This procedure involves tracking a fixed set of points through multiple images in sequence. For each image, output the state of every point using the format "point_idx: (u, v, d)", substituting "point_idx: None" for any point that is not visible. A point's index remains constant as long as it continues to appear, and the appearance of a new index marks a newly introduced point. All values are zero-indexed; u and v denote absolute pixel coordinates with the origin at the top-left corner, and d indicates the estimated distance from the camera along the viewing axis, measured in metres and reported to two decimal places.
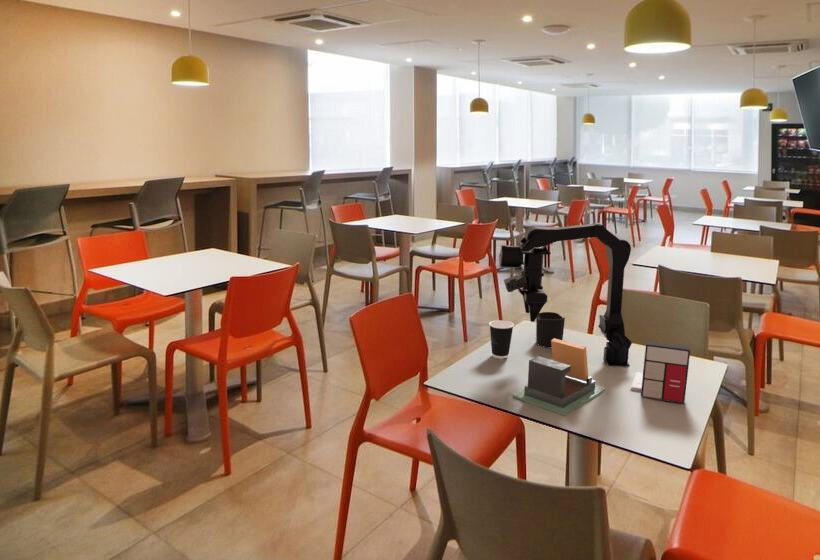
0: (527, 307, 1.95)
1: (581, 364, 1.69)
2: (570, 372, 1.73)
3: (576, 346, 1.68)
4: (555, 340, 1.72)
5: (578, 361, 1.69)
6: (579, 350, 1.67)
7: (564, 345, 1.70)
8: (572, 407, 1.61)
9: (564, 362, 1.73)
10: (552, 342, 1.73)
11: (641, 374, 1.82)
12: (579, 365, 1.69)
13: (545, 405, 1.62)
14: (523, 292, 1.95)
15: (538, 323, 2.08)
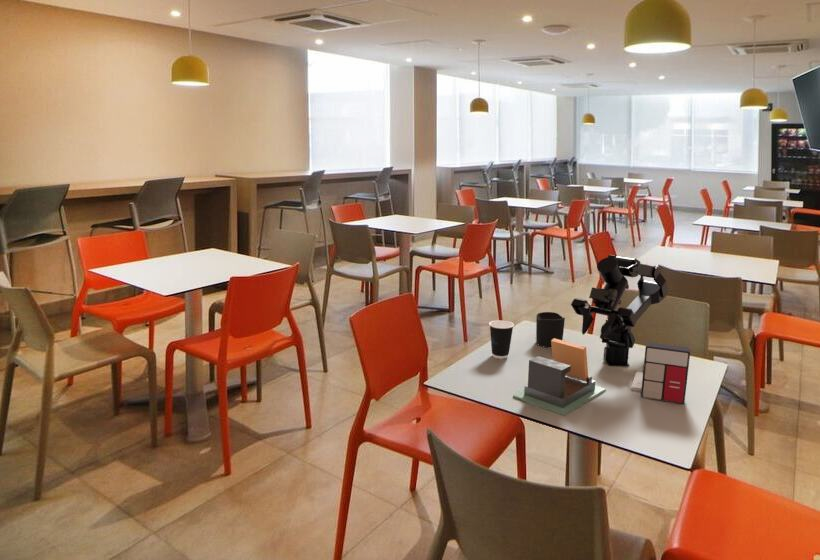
0: (585, 328, 1.82)
1: (581, 364, 1.69)
2: (570, 372, 1.73)
3: (576, 346, 1.68)
4: (555, 340, 1.72)
5: (578, 361, 1.69)
6: (579, 350, 1.67)
7: (564, 345, 1.70)
8: (572, 407, 1.61)
9: (564, 362, 1.73)
10: (552, 342, 1.73)
11: (641, 374, 1.82)
12: (579, 365, 1.69)
13: (545, 405, 1.62)
14: (588, 312, 1.83)
15: (538, 323, 2.08)
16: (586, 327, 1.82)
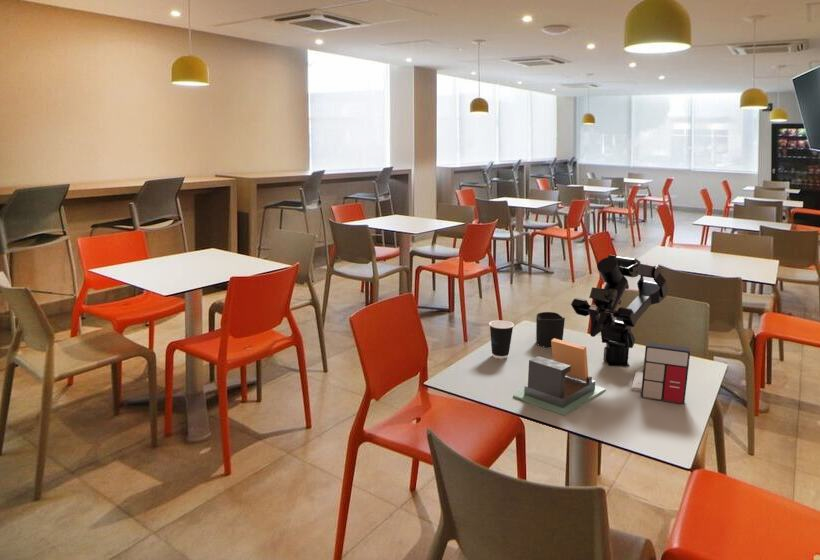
0: None
1: (581, 364, 1.69)
2: (570, 372, 1.73)
3: (576, 346, 1.68)
4: (555, 340, 1.72)
5: (578, 361, 1.69)
6: (579, 350, 1.67)
7: (564, 345, 1.70)
8: (572, 407, 1.61)
9: (564, 362, 1.73)
10: (552, 342, 1.73)
11: (641, 374, 1.82)
12: (579, 365, 1.69)
13: (545, 405, 1.62)
14: (596, 314, 1.81)
15: (538, 323, 2.08)
16: None
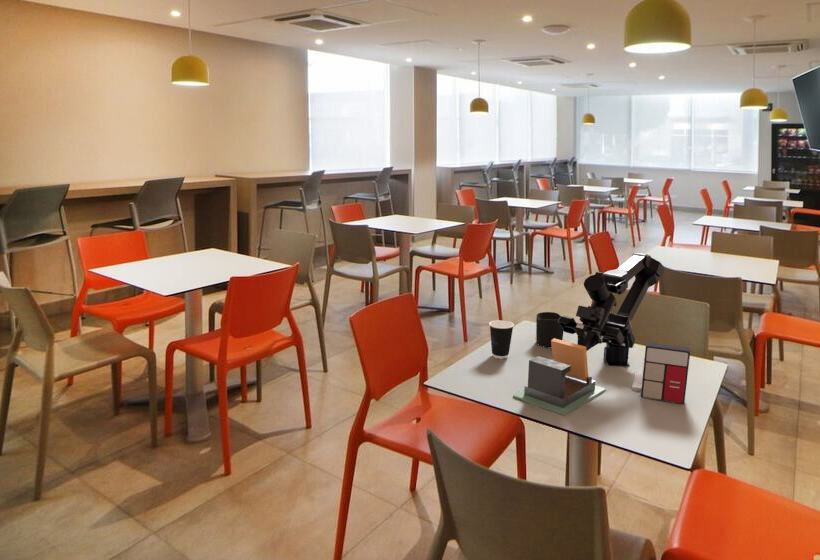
0: None
1: (581, 364, 1.69)
2: (570, 372, 1.73)
3: (576, 346, 1.68)
4: (555, 340, 1.72)
5: (578, 361, 1.69)
6: (579, 350, 1.67)
7: (564, 345, 1.70)
8: (572, 407, 1.61)
9: (564, 362, 1.73)
10: (552, 342, 1.73)
11: (641, 374, 1.83)
12: (579, 365, 1.69)
13: (545, 405, 1.62)
14: (583, 332, 1.77)
15: (538, 323, 2.08)
16: None
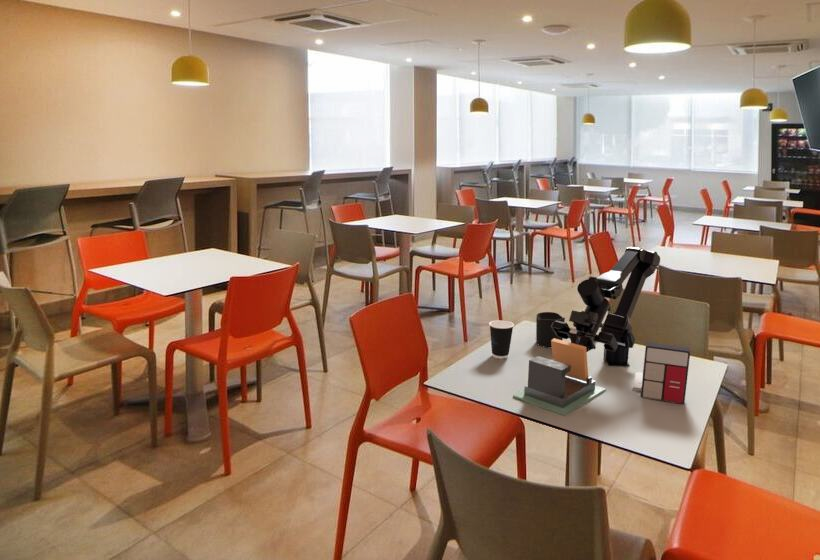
0: None
1: (581, 364, 1.69)
2: (570, 372, 1.73)
3: (576, 346, 1.68)
4: (555, 340, 1.72)
5: (578, 361, 1.69)
6: (579, 350, 1.67)
7: (564, 345, 1.70)
8: (572, 407, 1.61)
9: (564, 362, 1.73)
10: (552, 342, 1.73)
11: (641, 374, 1.83)
12: (579, 365, 1.69)
13: (545, 405, 1.62)
14: (577, 337, 1.74)
15: (538, 323, 2.08)
16: None
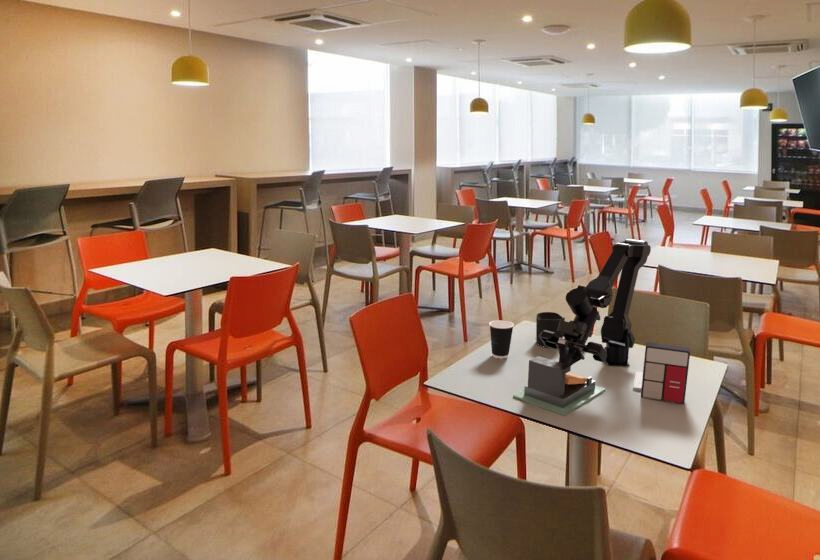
0: None
1: None
2: None
3: None
4: None
5: None
6: (565, 383, 1.64)
7: None
8: (572, 407, 1.61)
9: None
10: None
11: (641, 374, 1.83)
12: None
13: (545, 405, 1.62)
14: (565, 348, 1.70)
15: (538, 323, 2.08)
16: None
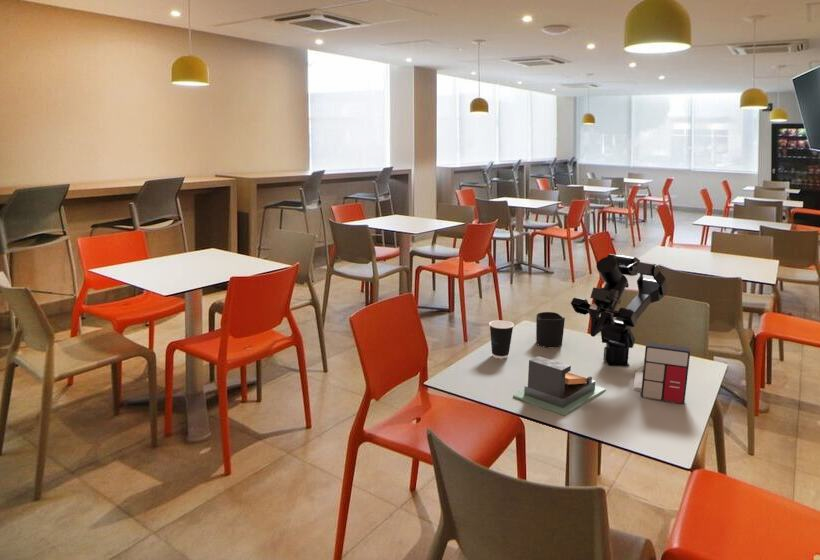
0: None
1: None
2: None
3: None
4: None
5: None
6: (565, 383, 1.64)
7: None
8: (572, 407, 1.61)
9: None
10: None
11: (641, 374, 1.83)
12: None
13: (545, 405, 1.62)
14: (597, 313, 1.81)
15: (538, 323, 2.08)
16: None
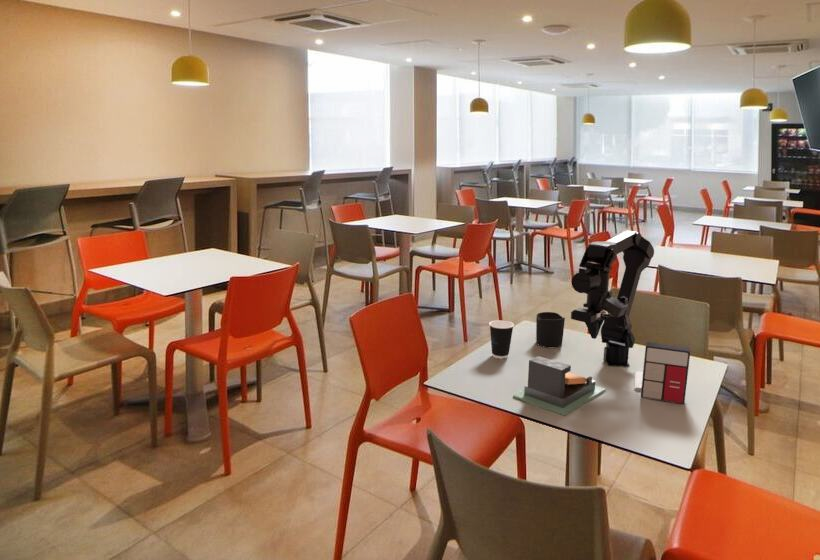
0: None
1: None
2: None
3: None
4: None
5: None
6: (565, 383, 1.64)
7: None
8: (572, 407, 1.61)
9: None
10: None
11: (641, 373, 1.83)
12: None
13: (545, 405, 1.62)
14: None
15: (538, 323, 2.08)
16: None
